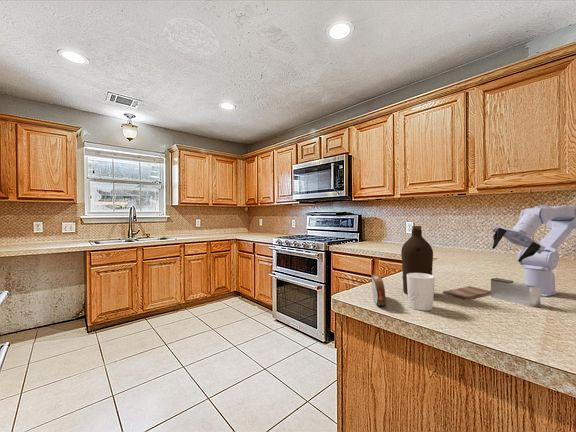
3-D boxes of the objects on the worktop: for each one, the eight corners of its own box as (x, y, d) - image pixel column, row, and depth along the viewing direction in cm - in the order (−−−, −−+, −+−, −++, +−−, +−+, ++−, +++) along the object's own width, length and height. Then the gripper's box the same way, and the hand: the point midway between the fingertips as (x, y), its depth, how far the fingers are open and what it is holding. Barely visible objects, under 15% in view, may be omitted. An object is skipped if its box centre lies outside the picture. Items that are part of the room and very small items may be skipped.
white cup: (432, 304, 86) (431, 273, 86) (437, 312, 78) (436, 279, 78) (405, 302, 88) (405, 272, 88) (408, 310, 81) (407, 277, 81)
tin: (386, 309, 81) (386, 282, 81) (375, 309, 82) (375, 281, 82) (379, 295, 96) (379, 272, 96) (370, 294, 97) (370, 271, 97)
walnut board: (469, 288, 104) (469, 286, 104) (492, 293, 97) (492, 291, 97) (442, 293, 97) (442, 291, 97) (465, 299, 90) (465, 297, 90)
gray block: (496, 295, 95) (496, 277, 95) (542, 306, 83) (542, 286, 83) (490, 296, 93) (490, 278, 93) (537, 308, 81) (536, 287, 81)
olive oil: (440, 296, 94) (439, 226, 94) (413, 298, 92) (412, 226, 92) (420, 288, 104) (420, 225, 104) (395, 290, 102) (395, 225, 103)
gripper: (505, 212, 95) (487, 234, 90) (555, 233, 86) (539, 258, 81) (497, 225, 100) (480, 246, 95) (544, 246, 91) (527, 271, 86)
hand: (506, 253), depth 88 cm, fingers open, 7 cm apart
